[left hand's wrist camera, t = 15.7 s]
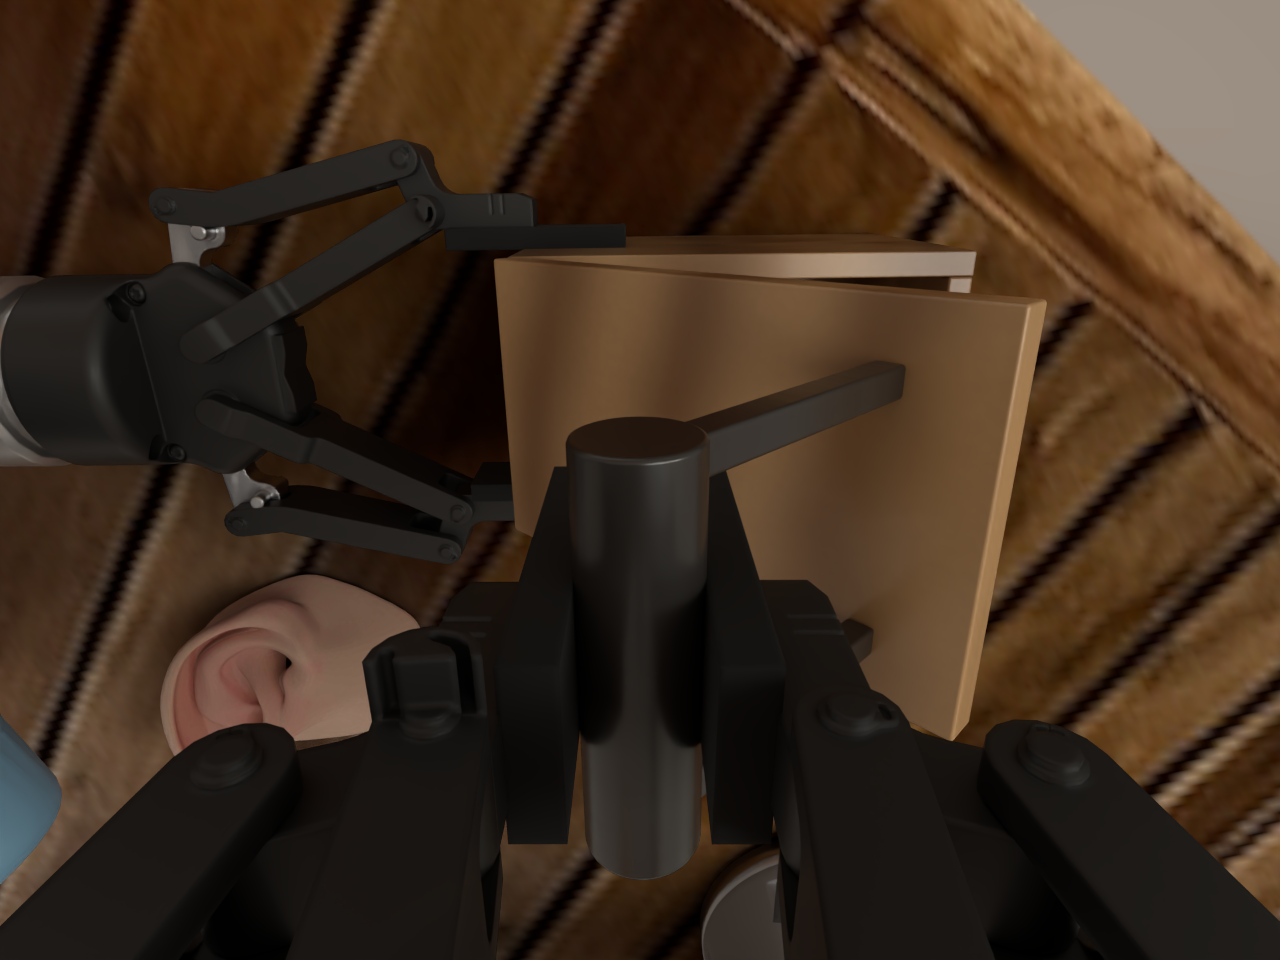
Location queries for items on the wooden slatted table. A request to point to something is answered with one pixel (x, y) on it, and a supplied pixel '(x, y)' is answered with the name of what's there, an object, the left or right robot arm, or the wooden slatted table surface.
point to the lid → (757, 492)
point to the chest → (791, 258)
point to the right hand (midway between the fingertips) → (627, 364)
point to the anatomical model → (280, 662)
